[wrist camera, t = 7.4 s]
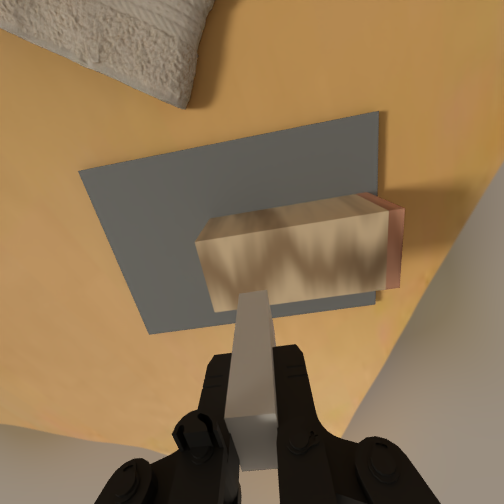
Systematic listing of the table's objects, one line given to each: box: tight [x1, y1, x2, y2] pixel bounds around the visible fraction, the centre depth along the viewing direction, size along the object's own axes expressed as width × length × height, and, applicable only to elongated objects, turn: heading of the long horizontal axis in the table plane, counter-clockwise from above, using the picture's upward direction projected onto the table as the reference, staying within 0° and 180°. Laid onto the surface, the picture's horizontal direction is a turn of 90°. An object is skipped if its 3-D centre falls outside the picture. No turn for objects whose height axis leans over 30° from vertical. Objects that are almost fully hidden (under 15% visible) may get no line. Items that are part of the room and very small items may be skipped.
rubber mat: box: [78, 111, 379, 335], centre depth 24 cm, size 18×25×1 cm
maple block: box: [195, 192, 405, 312], centre depth 20 cm, size 6×6×14 cm
